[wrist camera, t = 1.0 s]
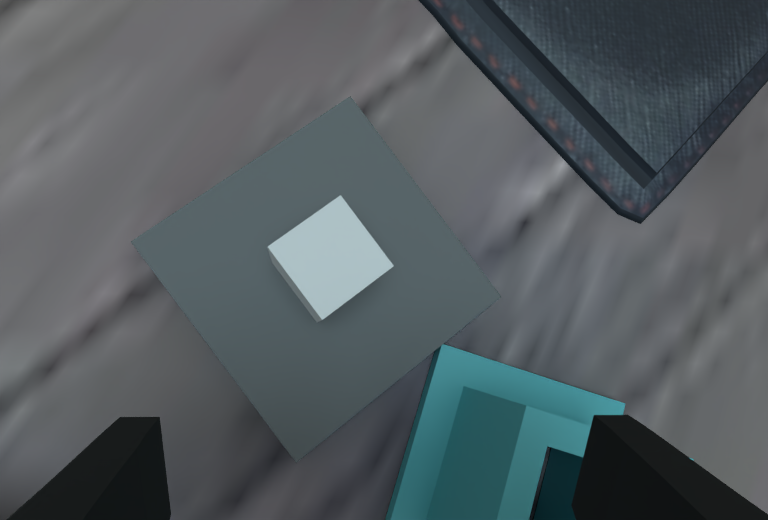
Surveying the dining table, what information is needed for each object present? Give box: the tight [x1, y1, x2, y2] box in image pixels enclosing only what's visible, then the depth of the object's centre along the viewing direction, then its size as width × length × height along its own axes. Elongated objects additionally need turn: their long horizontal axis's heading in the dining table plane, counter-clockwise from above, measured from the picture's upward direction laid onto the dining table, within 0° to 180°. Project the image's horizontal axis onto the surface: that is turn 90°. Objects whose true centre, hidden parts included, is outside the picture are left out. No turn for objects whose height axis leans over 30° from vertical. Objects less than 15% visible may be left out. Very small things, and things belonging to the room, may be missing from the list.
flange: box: [385, 344, 694, 520], centre depth 19 cm, size 8×8×7 cm
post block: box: [131, 96, 501, 463], centre depth 20 cm, size 10×10×5 cm
